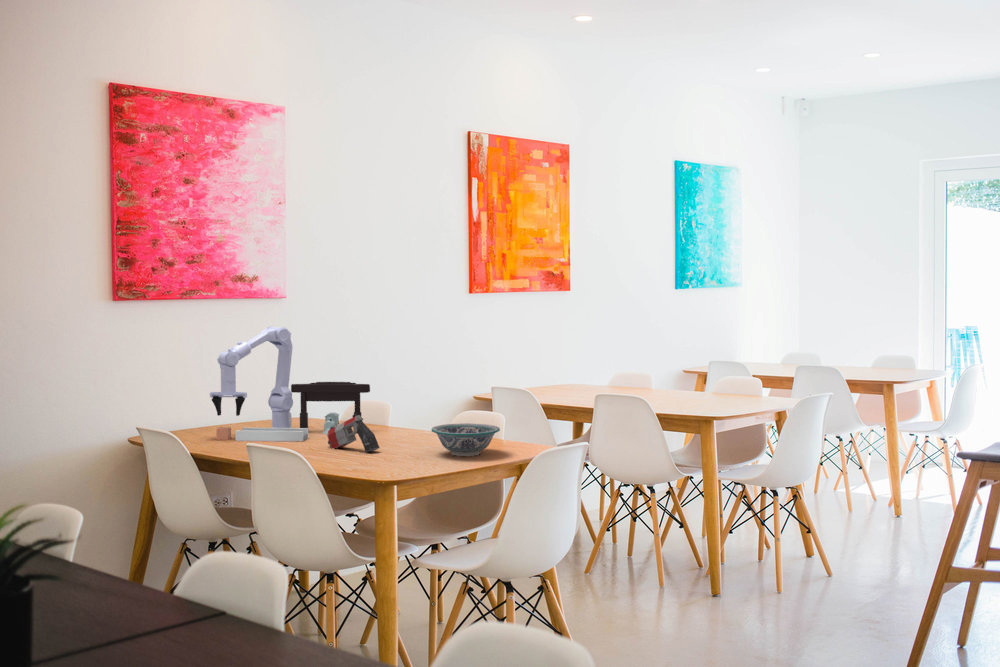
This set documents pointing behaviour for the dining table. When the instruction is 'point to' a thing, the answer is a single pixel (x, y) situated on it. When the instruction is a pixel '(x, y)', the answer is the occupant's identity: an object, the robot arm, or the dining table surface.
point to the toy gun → (352, 434)
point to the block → (223, 433)
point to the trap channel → (272, 434)
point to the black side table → (328, 398)
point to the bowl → (465, 437)
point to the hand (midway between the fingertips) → (228, 415)
